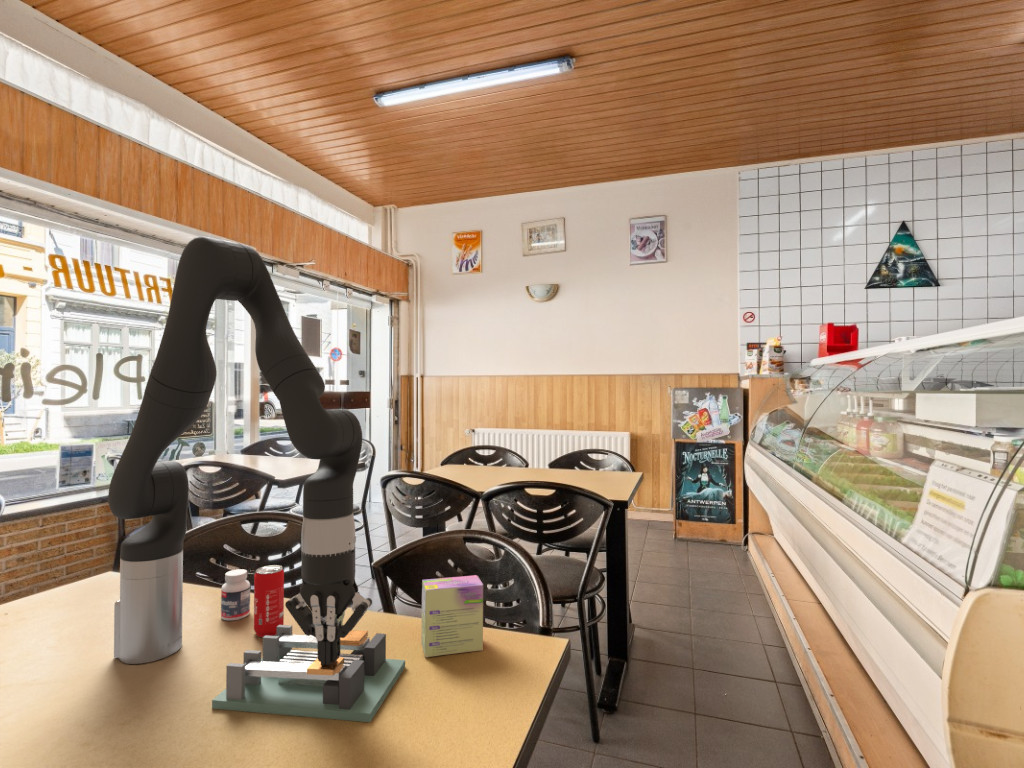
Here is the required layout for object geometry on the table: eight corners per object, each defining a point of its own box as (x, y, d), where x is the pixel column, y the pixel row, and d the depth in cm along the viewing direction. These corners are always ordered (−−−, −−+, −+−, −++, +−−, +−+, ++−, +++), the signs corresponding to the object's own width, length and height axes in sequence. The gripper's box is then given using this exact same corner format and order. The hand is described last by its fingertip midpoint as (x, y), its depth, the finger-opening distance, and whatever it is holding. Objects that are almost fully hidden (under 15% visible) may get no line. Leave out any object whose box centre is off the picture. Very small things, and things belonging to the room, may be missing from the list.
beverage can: (272, 639, 100) (272, 574, 100) (247, 636, 101) (248, 572, 101) (289, 627, 105) (289, 565, 105) (265, 625, 106) (266, 563, 106)
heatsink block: (278, 683, 83) (278, 661, 83) (292, 669, 87) (292, 649, 87) (352, 689, 81) (352, 667, 81) (363, 675, 85) (363, 654, 85)
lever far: (268, 649, 88) (268, 637, 88) (280, 639, 92) (280, 627, 92) (362, 652, 86) (362, 640, 86) (371, 642, 90) (370, 630, 90)
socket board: (211, 708, 78) (212, 666, 78) (271, 657, 93) (271, 622, 93) (370, 722, 75) (370, 679, 75) (405, 667, 90) (405, 631, 90)
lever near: (232, 678, 79) (232, 665, 79) (247, 665, 83) (247, 653, 83) (336, 683, 77) (336, 670, 77) (347, 670, 81) (347, 657, 81)
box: (476, 636, 101) (476, 573, 101) (483, 651, 96) (483, 584, 96) (420, 643, 98) (421, 578, 99) (424, 658, 93) (425, 590, 93)
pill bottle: (214, 619, 108) (215, 575, 108) (233, 609, 113) (234, 567, 113) (237, 622, 107) (237, 577, 107) (255, 611, 112) (255, 569, 112)
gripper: (272, 551, 76) (272, 674, 76) (361, 554, 75) (361, 679, 75) (299, 537, 84) (300, 649, 84) (381, 539, 82) (381, 653, 82)
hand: (329, 663), depth 79 cm, fingers closed
